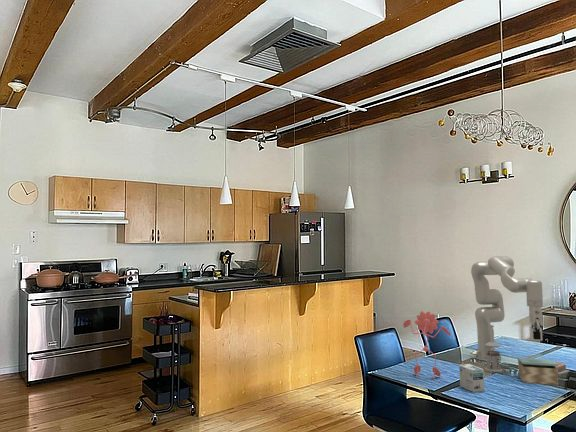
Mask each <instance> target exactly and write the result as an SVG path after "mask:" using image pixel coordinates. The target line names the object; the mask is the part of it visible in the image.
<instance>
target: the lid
mask: <svg viewBox="0 0 576 432" xmlns="http://www.w3.org/2000/svg"><path fill="white" fill-rule="evenodd" d="M518 360H519V361H520V362H521V363H522V364H531V365H546V366H558V364H557V363H555V362H556V361H554V360H552V359H544V358H542V359H541V358H528V357H526V358H525V357H517V361H518Z"/></svg>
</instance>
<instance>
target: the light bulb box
mask: <svg viewBox="0 0 576 432" xmlns="http://www.w3.org/2000/svg"><path fill="white" fill-rule="evenodd" d="M458 367H459V386H460V387H462V388H463V389H466V390H468V391H470V392H472V393H479V392H484V391H486V390H485V369H484V368H482V367H478V366H475V365H474V364H472V363H466V364H459V366H458Z"/></svg>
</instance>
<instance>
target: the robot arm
mask: <svg viewBox="0 0 576 432" xmlns="http://www.w3.org/2000/svg"><path fill="white" fill-rule="evenodd" d="M514 262H515V261H514V260H513V259H512V258H511V257H510V256H506V255H502V256H501V255H500V256H499V255H498V256H492V257H490V258H489V259H488V261H487V260H486V261H477V262H475V263H473V264H472V266H471V270H470V273H471V278H472V280H473V285H474V286H473V287H474V293H475V294H474V295H475V300H476V303H477V304H478V305H482V307H481V306H480V307H477V309H475V311H474V317H475V322H476V329H477V330H476V331H477V332H476V334H477V335H476V336H477V350H475V351H473V350H470V351H469V353H470V355H474V356H475V358H476V359H477V360H480V361H484V362H486V361H487V360H486V353H487V352H486V351H488V349H489V350H491V349H492V351H496V350H495V347H488V346H486V345H485V344H486V343H488V342H495V331H494V327H490V326H491V325H492V324H491V323H500V322H503V321H504V319H505V307H504V305H505V304H504V298H503V294H502V293H501V291H500V290H499V289H496V288H490V283H489V281H488V279H487V278H486V276H497V275H498V276H499V277H500V281H501V284H502V286H503V287H504V288H506V289H507V290H508V291H509V292H511V293H526V295H525V296H526V306H527V307H528V319H529V324H531V325H530V327H534V331H533V334H534V339H538V340H537V341H541V340H540V339H541V334H540V328H541V327H543V326H544V321H543V320H544V318H543V310H542V309H543V307H544V304H543V303H544V301H543V299H544V298H543V283H542V281H541V280H540V279H532V278H523V277H522V278H513V277H514V275H515V273H516V272H515V267H514V266H515V263H514ZM487 305H488V306H487ZM489 305H491V306H489ZM535 327H536V328H535ZM492 329H493V341H492ZM491 358H492V357H491ZM490 360H492V359H490Z"/></svg>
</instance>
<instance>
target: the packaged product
mask: <svg viewBox="0 0 576 432" xmlns="http://www.w3.org/2000/svg"><path fill="white" fill-rule="evenodd" d="M554 362H555V363H557V364H558V366H555V367H556V368H557V369H558V376H561V375H564V374H567V373H570V372H571V371H570V370H569V369H566V368H567V367H566V365H567V364H565V363H563V362H559V361H554Z"/></svg>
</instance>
